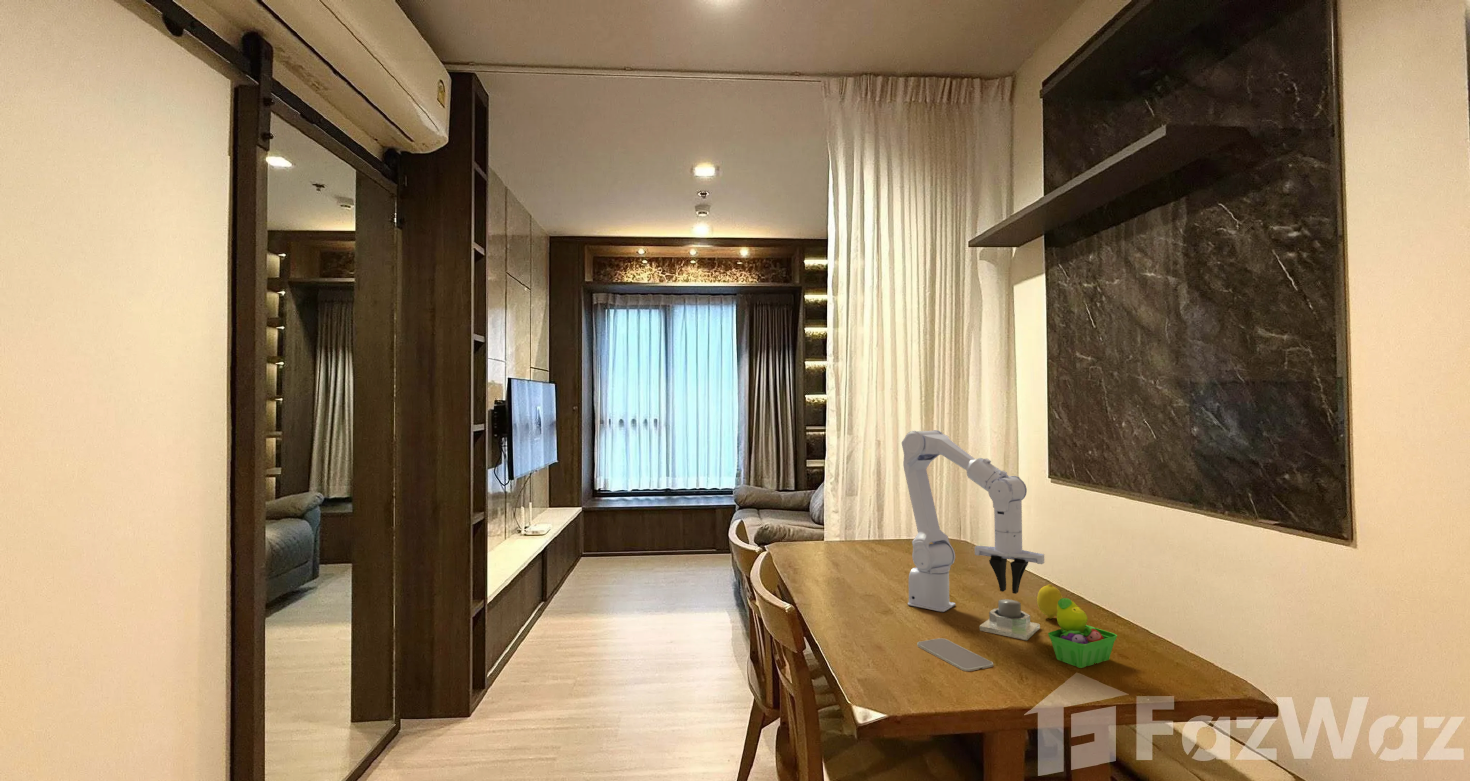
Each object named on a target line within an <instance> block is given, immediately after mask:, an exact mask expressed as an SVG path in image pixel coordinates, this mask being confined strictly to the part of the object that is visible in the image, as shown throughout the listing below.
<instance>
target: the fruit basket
mask: <svg viewBox="0 0 1470 781" xmlns="http://www.w3.org/2000/svg"><path fill="white" fill-rule="evenodd" d="M1057 610H1058V611H1057V616H1056V621H1057V624H1058V625H1059V626H1058V627H1060V629H1057V630H1053V631H1050V632H1048V633H1047V634H1048V637H1049V639H1050V641H1051V644H1052V645H1051V646H1052V648H1053V650H1054V654H1055V658H1056V660H1058V661H1060V662H1063V663H1066V664H1067V665H1071V666H1074V667H1077V668H1079V669H1082V668H1083V669H1084V668H1086V667H1089V666H1094V665H1095V664H1096V663H1097V664H1100V663H1102V662H1107V661H1110V659H1111V655H1112V654H1111V653H1112V651H1113V647H1114V644H1115V641H1116V640H1117V637H1118V635H1117V634H1115V633H1114V632H1110V631H1107V630H1105V629H1100V628H1096V627H1094V626H1091V625H1087V622H1088V619H1089V618H1088V615H1087V613H1086V612H1085V611H1084V610H1083V609H1082V608H1081V607H1079V605H1077V604H1076V603H1075V601H1072V599H1070V598H1068V597H1062V599H1060V600H1059V601H1058V605H1057ZM1094 663H1095V664H1094Z"/></svg>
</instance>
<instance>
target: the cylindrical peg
mask: <svg viewBox="0 0 1470 781" xmlns="http://www.w3.org/2000/svg"><path fill="white" fill-rule="evenodd" d="M1021 606H1022V605H1021V602H1020V601H1018V600H1013V599H1005V598H1004V599H999V600H998V607H997V608H999V616H1003V617H1008V618H1021V611H1022V609H1021V608H1022V607H1021Z"/></svg>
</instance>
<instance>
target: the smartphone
mask: <svg viewBox="0 0 1470 781" xmlns="http://www.w3.org/2000/svg"><path fill="white" fill-rule="evenodd" d="M916 646H917V647H918V648H920V649H921V650H924V651H925V652H927V653H929V654H931V655H933V656H935V657H936V658H938V659H940V660H942V661H944V662H946V663H948V664H949V665H952V667H955V668H957V669H959V670H961V671H963V672H973V671H976V670H980V669H982V670H983V669H989V668H993V667H994V662H993V661H991V660H988V659H987V658H985V657H983V656H981V655H980V654H977V653H975V652H973V651H971V650H968V649H966V648H965V647H962V646H960V645H959V644H957V643H954V642H953V641H951V640H949V639H946V638H934V639H928V640H927V639H926V640H922V641H921V640H920V641H918V642H917V645H916Z"/></svg>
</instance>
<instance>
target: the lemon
mask: <svg viewBox="0 0 1470 781" xmlns="http://www.w3.org/2000/svg"><path fill="white" fill-rule="evenodd" d="M1036 596H1037V598H1036V604H1037V606H1038V609H1039V611H1040V613H1042V614H1043V615H1046V617H1047V618H1048V619H1052V618H1054V617H1057V611H1058V610H1057V605H1058V601H1059V600H1060V599H1062V598H1063V596H1062V593H1061V591H1060V590H1059V589H1058V588H1057V587H1055V586H1053V585H1052V584H1049V583H1048V584H1047V585H1044V586H1042V587H1041V588H1040V589H1039V590H1038V592H1037V595H1036Z"/></svg>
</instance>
